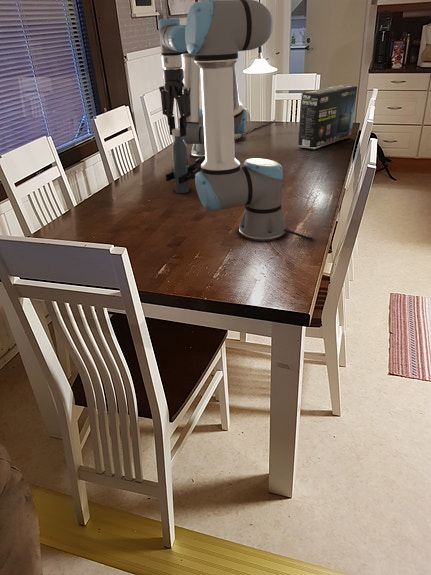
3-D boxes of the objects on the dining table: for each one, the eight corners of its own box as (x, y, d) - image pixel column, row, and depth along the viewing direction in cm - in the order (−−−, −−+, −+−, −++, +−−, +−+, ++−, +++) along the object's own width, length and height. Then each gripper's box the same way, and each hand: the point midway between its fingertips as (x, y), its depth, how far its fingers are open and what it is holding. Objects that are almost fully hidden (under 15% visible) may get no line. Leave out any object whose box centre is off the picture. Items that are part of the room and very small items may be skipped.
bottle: (187, 193, 185) (183, 133, 173) (174, 193, 185) (168, 133, 173) (190, 188, 190) (186, 130, 178) (176, 188, 190) (172, 130, 178)
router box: (314, 151, 231) (318, 94, 217) (296, 148, 237) (299, 92, 224) (352, 138, 251) (358, 85, 238) (335, 135, 258) (340, 83, 245)
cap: (185, 134, 177) (185, 128, 176) (180, 136, 174) (180, 131, 173) (175, 133, 179) (175, 127, 177) (170, 136, 175) (169, 130, 174)
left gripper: (225, 175, 194) (192, 192, 178) (190, 169, 203) (155, 184, 187) (225, 158, 190) (191, 173, 174) (189, 152, 200) (154, 166, 183)
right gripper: (147, 68, 166) (154, 134, 178) (185, 70, 157) (189, 139, 169) (162, 66, 171) (167, 130, 183) (198, 67, 162) (202, 135, 174)
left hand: (173, 179), depth 181 cm, fingers closed on bottle, 6 cm apart
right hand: (178, 135), depth 176 cm, fingers open, 5 cm apart
